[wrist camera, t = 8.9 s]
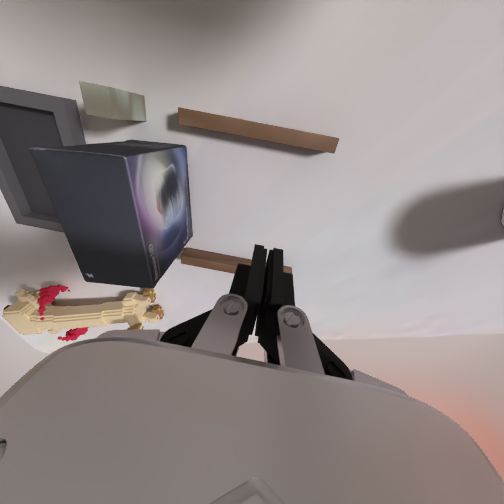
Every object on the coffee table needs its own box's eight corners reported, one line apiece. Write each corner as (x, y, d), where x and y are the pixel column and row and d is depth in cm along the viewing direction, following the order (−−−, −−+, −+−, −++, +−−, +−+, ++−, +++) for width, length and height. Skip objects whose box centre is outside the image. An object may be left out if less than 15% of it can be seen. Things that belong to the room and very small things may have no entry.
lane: (122, 91, 19) (79, 81, 15) (335, 132, 19) (352, 133, 15) (143, 249, 28) (119, 271, 24) (288, 276, 28) (290, 303, 24)
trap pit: (-32, 79, 20) (-53, 76, 19) (75, 100, 20) (62, 98, 19) (28, 218, 27) (16, 223, 26) (106, 233, 27) (98, 238, 26)
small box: (196, 237, 26) (156, 293, 17) (147, 231, 27) (82, 284, 18) (190, 144, 21) (126, 156, 12) (127, 138, 21) (19, 146, 12)
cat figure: (151, 269, 32) (2, 284, 34) (118, 312, 24) (-72, 329, 26) (171, 315, 37) (41, 326, 39) (150, 363, 29) (-11, 373, 31)
